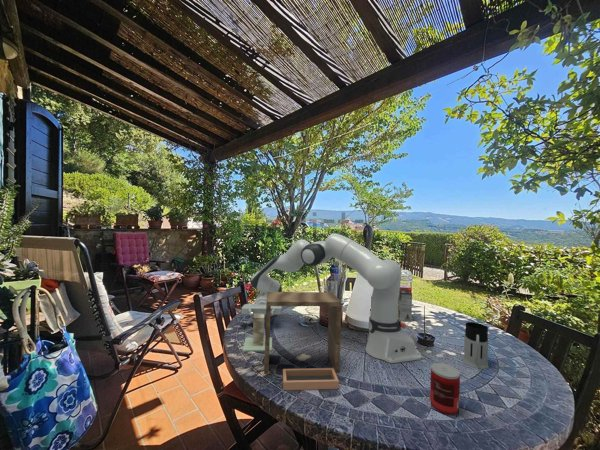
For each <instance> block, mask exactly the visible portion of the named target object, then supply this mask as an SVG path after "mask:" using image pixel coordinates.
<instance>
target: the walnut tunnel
mask: <svg viewBox="0 0 600 450" xmlns="http://www.w3.org/2000/svg"><path fill="white" fill-rule="evenodd" d="M271 306H282V307H328V328H327V330H328V331H327V333H328V334H327V356H328V357H327V358H328V359H329V360H330V364H331V366H332V368H334V370H335V373H336V374H338V373H340V360H341V359H340V358H341V353H340V352H341V329H342V327H341V325H342V301H341V299H339V297H338V296H337V295H336V294H335V293H334V292H332V291H331V292H325V291H324V292H320V291H318V292H317V291H312V292H311V291H307V292H306V291H282V292H268V293H267V302H266V315H265V330H264V338H265V351H264V365H263V366H264V367H263V369H264V370H263V375H269V370H270V368H269V367H270V351H269V345H270V338H271V317H272V316H271Z"/></svg>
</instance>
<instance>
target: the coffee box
mask: <svg viewBox="0 0 600 450" xmlns="http://www.w3.org/2000/svg"><path fill="white" fill-rule="evenodd" d="M412 308H413V294H412V291H411V290H408V289H407V290H406V289H400V291H399V298H398V314H397V318H398V320H399V321H401V322H405V323H406V322H407V323H412V310H413V309H412Z"/></svg>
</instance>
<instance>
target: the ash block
mask: <svg viewBox="0 0 600 450" xmlns="http://www.w3.org/2000/svg"><path fill="white" fill-rule="evenodd" d="M265 316H266V315H265V314H254V315H253V319H252V321H253V324H252V325H253V327H252V338H253V346H263V342H264V338H265Z"/></svg>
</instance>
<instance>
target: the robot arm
mask: <svg viewBox="0 0 600 450" xmlns="http://www.w3.org/2000/svg"><path fill="white" fill-rule="evenodd" d="M333 258H335V259H337V260H338V261H340V262H342V263H343V264H344V265H346V266H348V267H349V268H351V269H353V270H354V271H355V272H356V273H358V274H359V275H360V276H361V277H362V278H363V279H364V280H366V281H367V283H368V285H369V286H371V287H372V294H371V309H370V312H369V314H370V315H369V318H368V337H367V342H366V345H365V348H364V350H365V352H366V353H367V355H369V356H371V357H373V358H375V359H379V360H383V361H384V362H387V363H390V364H396V363H403V362H404V363H405V362H412V361H419V360H422V354H421V352H420V351H419V350H418V349H417V348H416V344H415V341H414V339H413V338H412V336H410V335H409V334H408V333H407V332H405V330H403V329H406V328H407V324H406V323H404V321H400V319H399V318H398V298H399V291H400V290H401V281H402V267H401V266H400V264H399V263H398V262H397V261H395V260H393V259H387V258H386V259H381V258H379V257H378V256H377V255H375V254H374V253H373V252H372V251H370V250H369V248H366V247H365V246H363V245H361V244H360V243H358V242H356V241H355V240H353V239H351V238H349V237H347V236H344V235H342V234H339V233H331V234H329V235H328V236H327V237H326V239H323V240H322V239H321V240H318V241H314V242H312V243H310V242H309V241H308V240H306V239H304V238H303V239H297V241H295V242H294V243H293V244H292V245H291V246H290V247H289V248H288V250H287V251H286V252H285V253H283V254H277V255H275V256H274V257H272V258H271V259H270V260H269V261H268V262H267V263H266V264H264V265H263V266H262V268H260V269H259V270H258V271H256V272H255V273H254V274H252V276H251V278H250V286H251V288H253V289H255V290H257V291H258V292H259V294H257V296H256V298H255V301H254V303H245V304H243V305H242V307H241V315H244V316H247V315H249V316H250V317H254V314H265V315H264V316H266V302H267V293H268V292H283V286H282V284H281V283H280V282H278V281H277V280H276V279H274V278H272V277H270V276H269V275H268V274H269V273H270V272H271V271H272V270H280V271H284V272H287V273H295V272H298V271H299V270H300V269H301V268H302V267H303V266H304V265H306V266H308V267H315V266H316V267H317V266H319V265H323V264H325V263H327V262H329V261H331V260H332V259H333ZM282 309H283V306H271V316H270V317H273V316H274V315H275V316H277V315H282V313H283V310H282Z"/></svg>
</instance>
